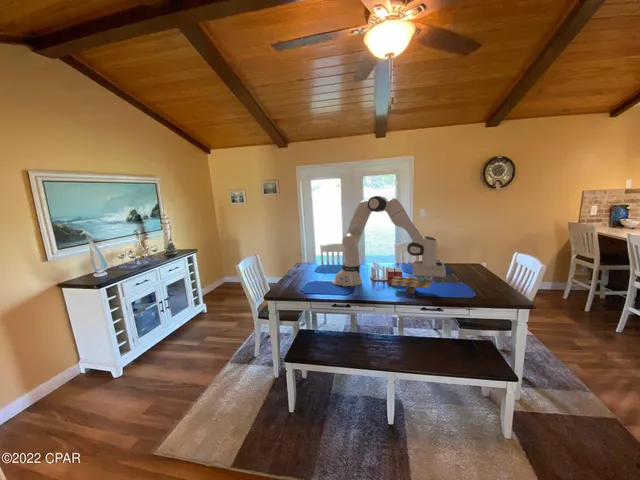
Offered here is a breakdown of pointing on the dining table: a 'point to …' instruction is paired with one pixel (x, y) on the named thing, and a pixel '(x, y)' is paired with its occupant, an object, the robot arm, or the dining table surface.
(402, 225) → the robot arm
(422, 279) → the rider
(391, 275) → the puzzle cube
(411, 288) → the beam
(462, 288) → the dining table surface
